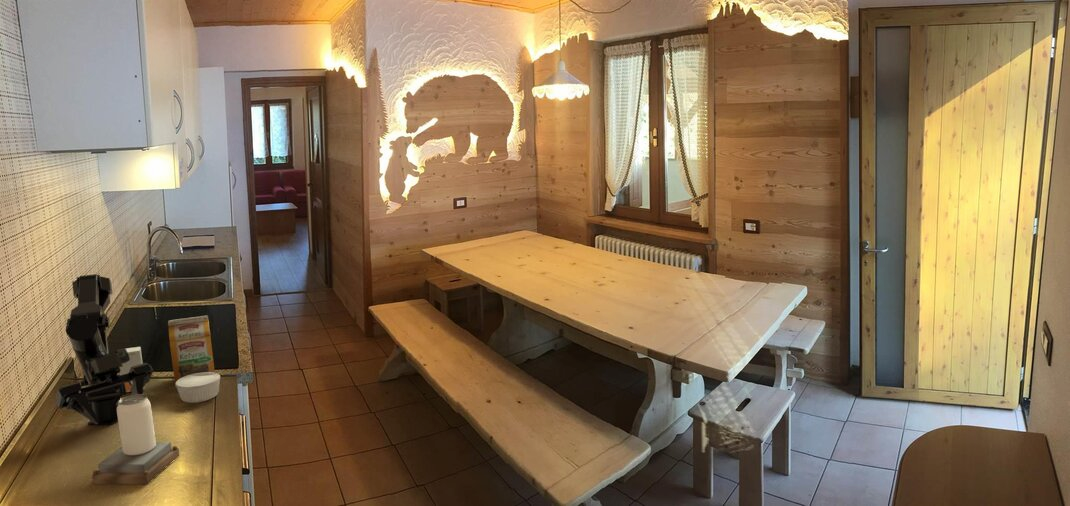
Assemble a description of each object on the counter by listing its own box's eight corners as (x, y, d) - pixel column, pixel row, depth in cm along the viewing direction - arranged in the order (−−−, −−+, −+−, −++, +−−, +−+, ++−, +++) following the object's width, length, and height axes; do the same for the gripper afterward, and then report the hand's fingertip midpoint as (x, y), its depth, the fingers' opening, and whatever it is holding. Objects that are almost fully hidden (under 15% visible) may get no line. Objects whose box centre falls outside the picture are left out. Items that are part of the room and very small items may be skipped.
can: (140, 458, 146) (133, 406, 144) (115, 455, 147) (108, 404, 145) (163, 444, 152) (156, 394, 150) (139, 441, 154) (132, 392, 151)
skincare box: (120, 394, 191) (115, 354, 189) (122, 388, 195) (116, 349, 193) (145, 389, 194) (139, 350, 192) (146, 384, 198) (140, 346, 195)
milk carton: (214, 370, 209) (207, 311, 205) (215, 381, 199) (208, 320, 196) (176, 376, 204) (168, 316, 200) (175, 388, 195) (167, 325, 191)
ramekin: (224, 386, 196) (222, 369, 195) (219, 401, 185) (217, 383, 184) (181, 392, 192) (179, 374, 191) (174, 407, 182) (172, 389, 181)
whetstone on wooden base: (93, 483, 143) (90, 466, 143) (128, 456, 155) (126, 440, 154) (147, 484, 143) (145, 466, 142) (179, 456, 155) (177, 440, 154)
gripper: (51, 352, 143) (78, 413, 139) (144, 329, 158) (171, 384, 153) (44, 378, 150) (70, 438, 145) (134, 354, 164) (160, 408, 160)
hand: (120, 416), depth 151 cm, fingers open, 9 cm apart
